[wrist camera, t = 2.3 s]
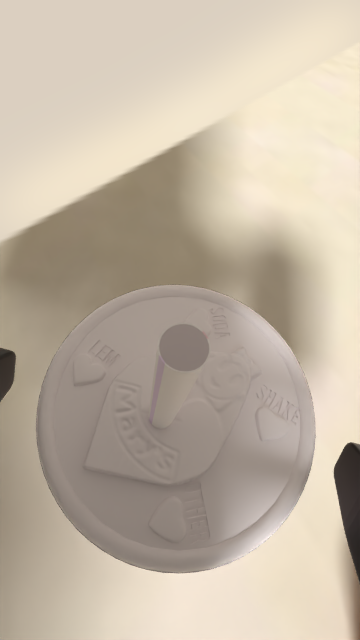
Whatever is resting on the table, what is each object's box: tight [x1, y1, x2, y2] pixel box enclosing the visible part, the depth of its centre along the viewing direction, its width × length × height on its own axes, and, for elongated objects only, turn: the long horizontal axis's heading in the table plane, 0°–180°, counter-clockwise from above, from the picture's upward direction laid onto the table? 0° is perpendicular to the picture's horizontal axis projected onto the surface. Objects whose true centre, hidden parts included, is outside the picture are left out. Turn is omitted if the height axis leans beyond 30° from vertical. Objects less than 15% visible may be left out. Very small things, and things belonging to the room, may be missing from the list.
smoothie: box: [36, 285, 316, 573], centre depth 10 cm, size 6×6×14 cm
